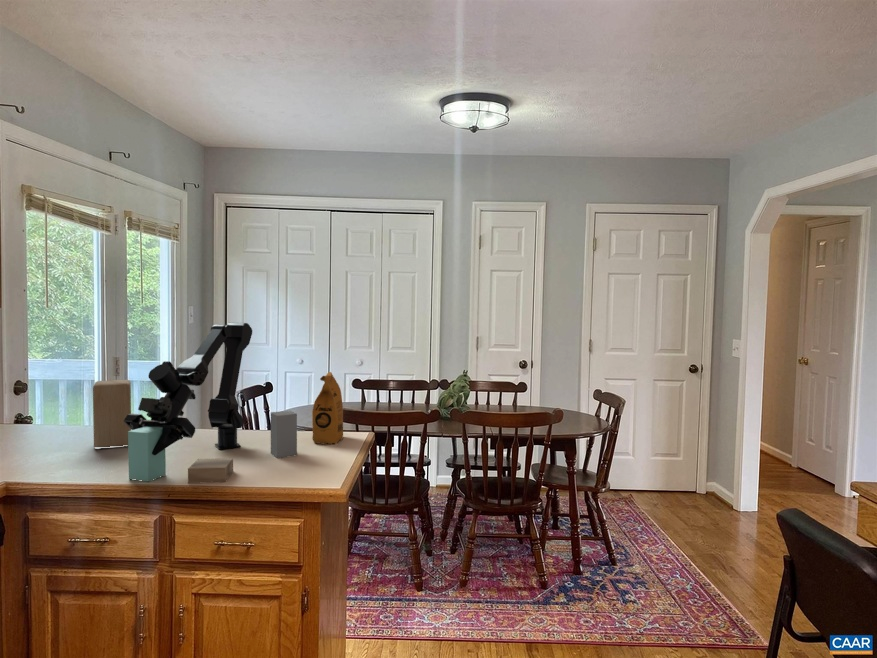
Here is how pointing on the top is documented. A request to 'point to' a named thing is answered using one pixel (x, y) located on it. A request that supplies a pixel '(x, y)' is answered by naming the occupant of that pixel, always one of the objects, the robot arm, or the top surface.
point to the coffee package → (328, 412)
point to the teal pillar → (145, 454)
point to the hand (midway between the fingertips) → (142, 453)
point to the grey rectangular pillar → (283, 434)
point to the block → (111, 412)
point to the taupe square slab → (210, 470)
